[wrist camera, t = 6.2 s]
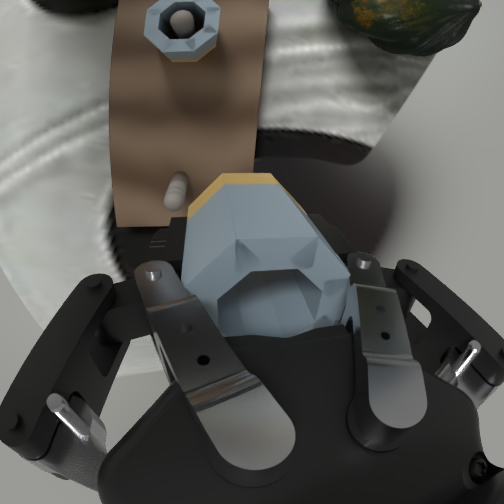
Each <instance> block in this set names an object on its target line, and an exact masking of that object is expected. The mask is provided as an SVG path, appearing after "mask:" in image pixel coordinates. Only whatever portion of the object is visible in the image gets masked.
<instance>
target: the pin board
mask: <svg viewBox="0 0 504 504" xmlns="http://www.w3.org/2000/svg"><path fill="white" fill-rule="evenodd" d="M158 1H159V0H119V3H118V9H117V15H116V22H115V29H114V37H113V46H112V56H111V70H110V89H109V141H110V162H111V176H112V187H113V197H114V206H115V215H116V222H117V227H143V226H169V225H170V220H171V217H187V216H188V208H189V206H190V205H191V204H192V203H193V202H194V201H195V200H196V199H197V198H198V197H199V196H200V195H201V194H202V193H203V192H204V191H205V190H206V189H207V188H208V187H209V186H210V185H211V184H212V183H213V182H214V181H215V180H216V179H217V178H218V177H219V176H220V175H221V174H222V173H253V166H254V155H255V144H256V133H257V122H258V111H259V100H260V89H261V79H262V68H263V57H264V47H265V36H266V26H267V16H268V6H269V0H213V1H214V2H215V3H216V4H217V5H218V6H219V7H221V10H220V18H219V27H218V36H217V41H216V47H215V48H214V49H212V50H211V51H210V52H208V53H207V54H206V55H205V56H203V57H202V58H201V59H200V60H198V61H197V62H172V61H171V60H170V59H168V58H167V57H166V56H165V55H164V54H163V53H162V52H161V51H160V50H159V49H157V48H156V47H155V46H154V45H153V44H152V43H151V42H150V41H149V40H148V39H147V38H146V37H145V36H144V28H145V20H146V13H147V10H148V9H149V8H150V7H151V6H153V5H154V4H155V3H156V2H158ZM170 23H171V26H172V28H173V29H172V30H171V31H170V36H169V39H189V38H191V37H192V36H193V35H194V34H196V33H197V32H198V31H200V30H201V29H202V27H201V26H200V25H199V24H198V23H197V22H194V20H193V16H192V14H191V13H190V12H189V11H186V10H180V11H177V12H175V13H174V14H173V15H172V16H171V19H170Z"/></svg>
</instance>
